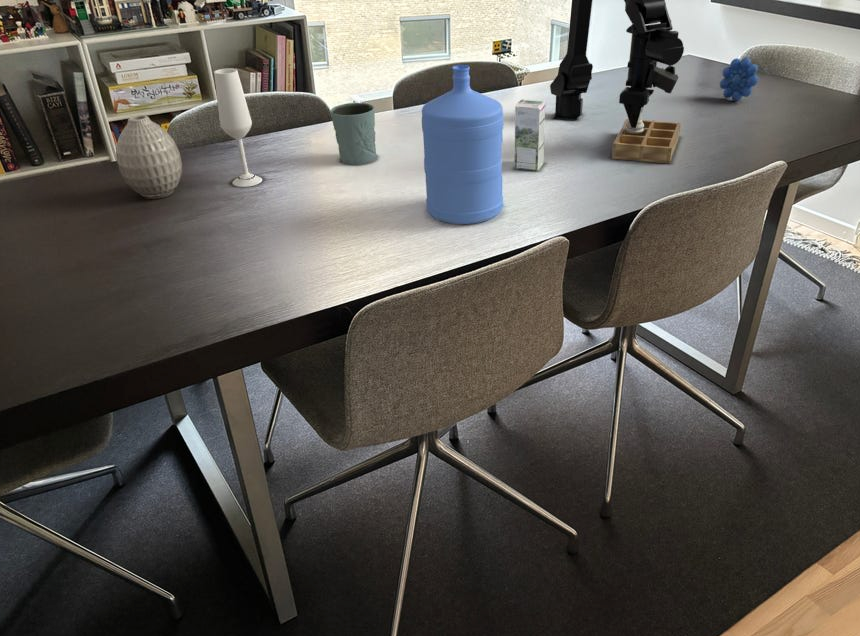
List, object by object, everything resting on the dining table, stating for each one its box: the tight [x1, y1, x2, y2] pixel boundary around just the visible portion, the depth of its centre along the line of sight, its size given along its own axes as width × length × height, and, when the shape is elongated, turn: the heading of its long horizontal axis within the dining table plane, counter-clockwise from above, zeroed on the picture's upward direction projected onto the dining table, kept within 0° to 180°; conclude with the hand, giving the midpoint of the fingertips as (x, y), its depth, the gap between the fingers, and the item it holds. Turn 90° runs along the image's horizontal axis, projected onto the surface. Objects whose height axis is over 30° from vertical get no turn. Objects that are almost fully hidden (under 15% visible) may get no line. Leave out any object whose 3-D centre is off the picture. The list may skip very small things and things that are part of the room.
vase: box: [115, 114, 183, 200], centre depth 160 cm, size 13×13×17 cm
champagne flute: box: [213, 67, 263, 188], centre depth 163 cm, size 7×7×24 cm
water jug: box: [421, 64, 504, 225], centre depth 145 cm, size 16×16×28 cm
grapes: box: [719, 56, 759, 102], centre depth 210 cm, size 12×7×12 cm, turn 37°
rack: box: [611, 118, 682, 164], centre depth 181 cm, size 13×20×4 cm
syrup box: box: [514, 99, 547, 172], centre depth 169 cm, size 6×6×14 cm
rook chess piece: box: [625, 107, 644, 134], centre depth 179 cm, size 4×4×8 cm
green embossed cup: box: [330, 102, 377, 166], centre depth 177 cm, size 10×10×12 cm
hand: (635, 124), depth 180 cm, fingers closed on rook chess piece, 4 cm apart
